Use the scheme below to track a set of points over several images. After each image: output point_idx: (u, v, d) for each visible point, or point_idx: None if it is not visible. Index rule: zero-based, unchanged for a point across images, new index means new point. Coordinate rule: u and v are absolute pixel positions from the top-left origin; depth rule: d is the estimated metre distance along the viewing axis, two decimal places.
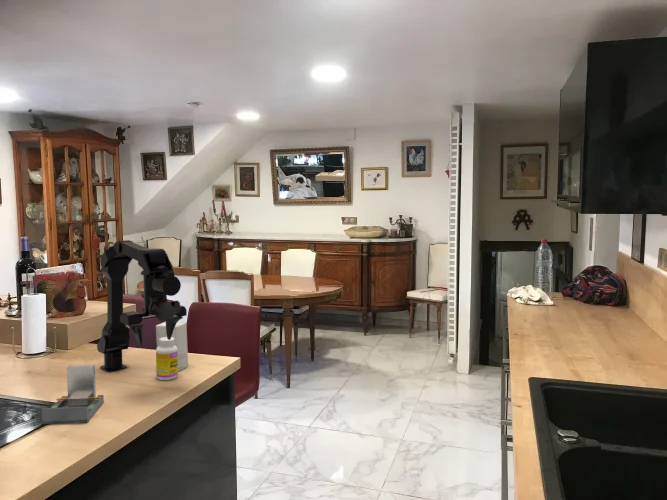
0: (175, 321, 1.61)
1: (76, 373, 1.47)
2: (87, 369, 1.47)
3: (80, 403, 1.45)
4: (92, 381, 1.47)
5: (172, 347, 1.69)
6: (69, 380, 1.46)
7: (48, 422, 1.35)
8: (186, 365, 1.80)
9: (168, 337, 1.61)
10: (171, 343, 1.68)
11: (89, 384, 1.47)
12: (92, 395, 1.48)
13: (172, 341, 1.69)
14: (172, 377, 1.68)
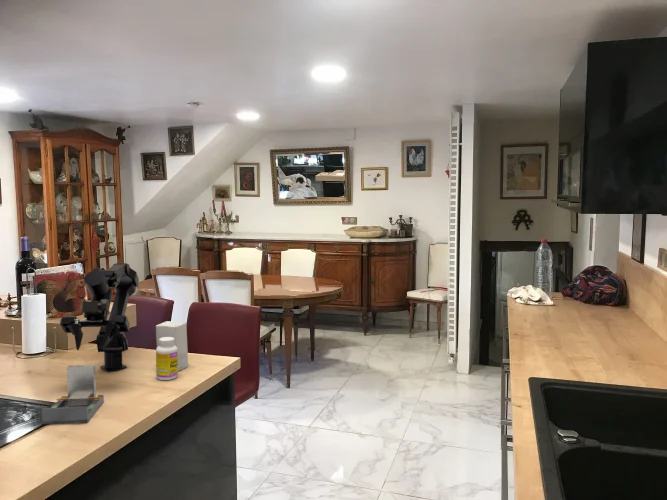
0: (108, 328, 1.57)
1: (76, 373, 1.47)
2: (87, 369, 1.47)
3: (80, 403, 1.45)
4: (92, 381, 1.47)
5: (172, 347, 1.69)
6: (69, 380, 1.46)
7: (48, 422, 1.35)
8: (186, 365, 1.80)
9: None
10: (171, 343, 1.68)
11: (89, 384, 1.47)
12: (92, 395, 1.48)
13: (172, 341, 1.69)
14: (172, 377, 1.68)
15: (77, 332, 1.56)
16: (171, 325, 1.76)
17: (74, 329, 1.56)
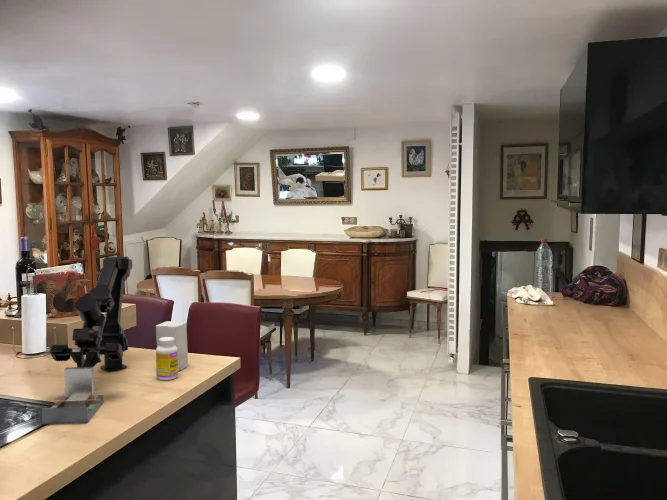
0: (88, 356, 1.49)
1: (74, 375, 1.45)
2: (85, 371, 1.45)
3: (78, 405, 1.43)
4: (90, 383, 1.46)
5: (172, 347, 1.69)
6: (67, 382, 1.45)
7: (48, 422, 1.35)
8: (186, 365, 1.80)
9: None
10: (171, 343, 1.68)
11: (87, 386, 1.46)
12: (90, 397, 1.46)
13: (172, 341, 1.69)
14: (172, 377, 1.68)
15: (80, 361, 1.49)
16: (171, 325, 1.76)
17: (76, 357, 1.49)
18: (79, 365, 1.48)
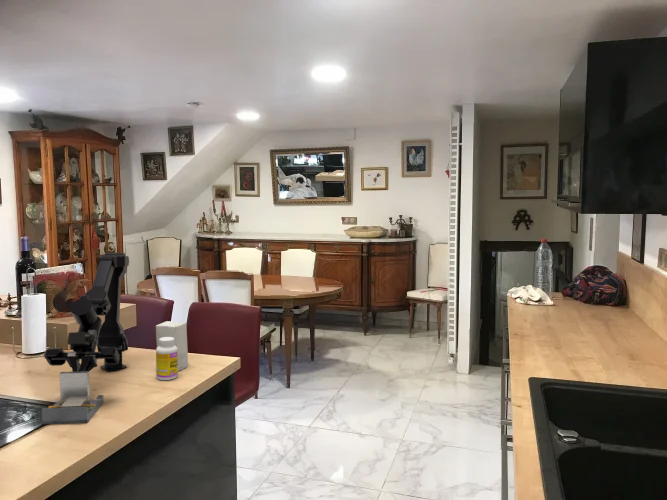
0: (83, 361, 1.46)
1: (69, 380, 1.41)
2: (81, 376, 1.42)
3: None
4: (86, 388, 1.42)
5: (172, 347, 1.69)
6: (62, 386, 1.41)
7: (48, 422, 1.35)
8: (186, 365, 1.80)
9: None
10: (171, 343, 1.68)
11: (83, 391, 1.42)
12: (86, 402, 1.43)
13: (172, 341, 1.69)
14: (172, 377, 1.68)
15: (75, 365, 1.45)
16: (171, 325, 1.76)
17: (72, 362, 1.45)
18: (74, 370, 1.45)
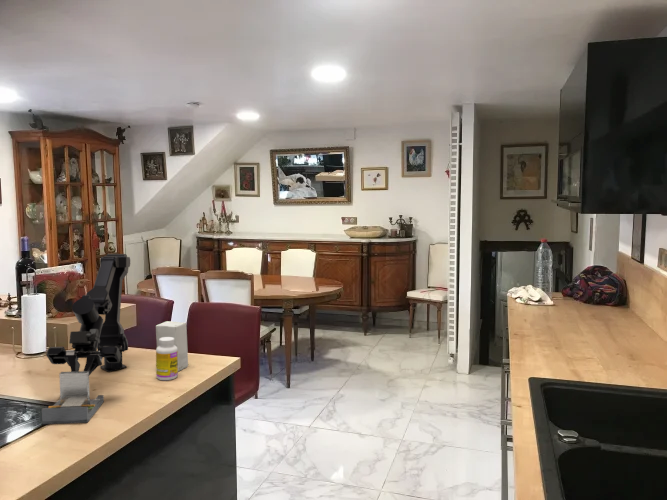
0: (89, 359, 1.47)
1: (69, 380, 1.41)
2: (80, 376, 1.42)
3: None
4: (86, 388, 1.42)
5: (172, 347, 1.69)
6: (62, 386, 1.41)
7: (48, 422, 1.35)
8: (186, 365, 1.80)
9: None
10: (171, 343, 1.68)
11: (83, 391, 1.42)
12: (86, 402, 1.42)
13: (172, 341, 1.69)
14: (172, 377, 1.68)
15: (73, 364, 1.47)
16: (171, 325, 1.76)
17: (70, 361, 1.47)
18: (73, 368, 1.46)
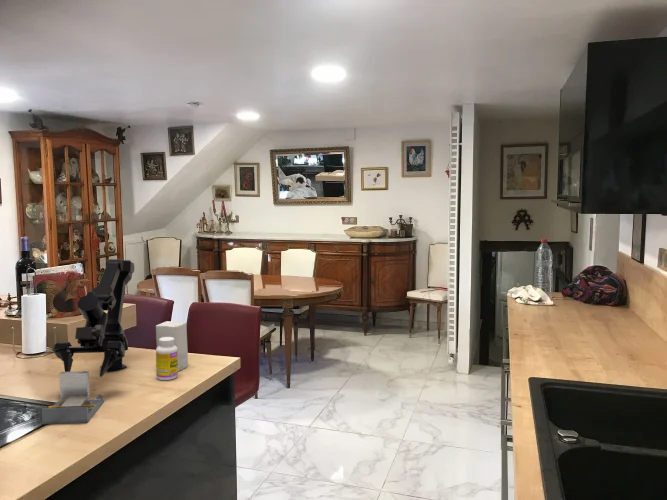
0: (107, 354, 1.52)
1: (69, 380, 1.41)
2: (80, 376, 1.42)
3: None
4: (86, 388, 1.42)
5: (172, 347, 1.69)
6: (62, 386, 1.41)
7: (48, 422, 1.35)
8: (186, 365, 1.80)
9: None
10: (171, 343, 1.68)
11: (83, 391, 1.42)
12: (86, 402, 1.42)
13: (172, 341, 1.69)
14: (172, 377, 1.68)
15: (66, 359, 1.51)
16: (171, 325, 1.76)
17: (63, 356, 1.51)
18: (66, 363, 1.50)
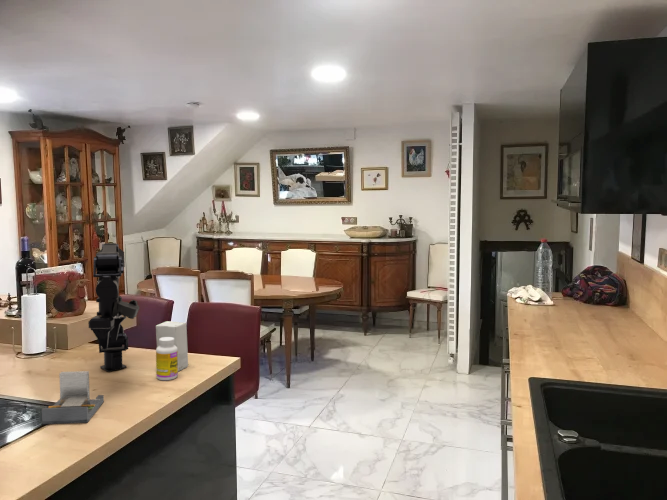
0: (121, 321, 1.66)
1: (69, 380, 1.41)
2: (80, 376, 1.42)
3: None
4: (86, 388, 1.42)
5: (172, 347, 1.69)
6: (62, 386, 1.41)
7: (48, 422, 1.35)
8: (186, 365, 1.80)
9: (114, 338, 1.65)
10: (171, 343, 1.68)
11: (83, 391, 1.42)
12: (86, 402, 1.42)
13: (172, 341, 1.69)
14: (172, 377, 1.68)
15: (109, 333, 1.55)
16: (171, 325, 1.76)
17: (109, 331, 1.54)
18: (108, 337, 1.55)
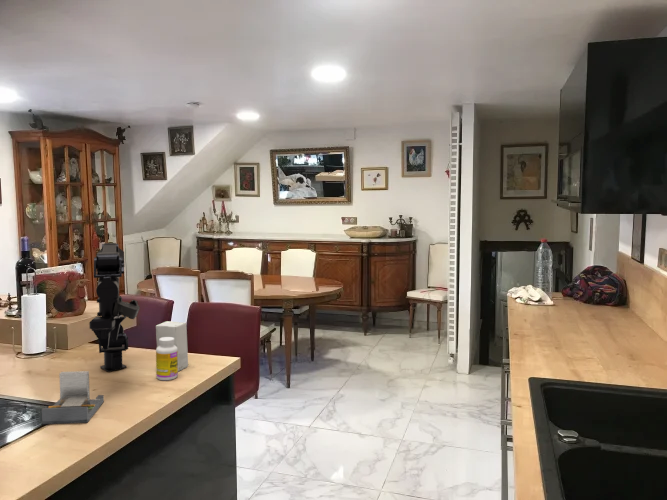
0: (121, 321, 1.66)
1: (69, 380, 1.41)
2: (80, 376, 1.42)
3: None
4: (86, 388, 1.42)
5: (172, 347, 1.69)
6: (62, 386, 1.41)
7: (48, 422, 1.35)
8: (186, 365, 1.80)
9: (114, 338, 1.65)
10: (171, 343, 1.68)
11: (83, 391, 1.42)
12: (86, 402, 1.42)
13: (172, 341, 1.69)
14: (172, 377, 1.68)
15: (109, 333, 1.55)
16: (171, 325, 1.76)
17: (110, 331, 1.54)
18: (109, 337, 1.56)
